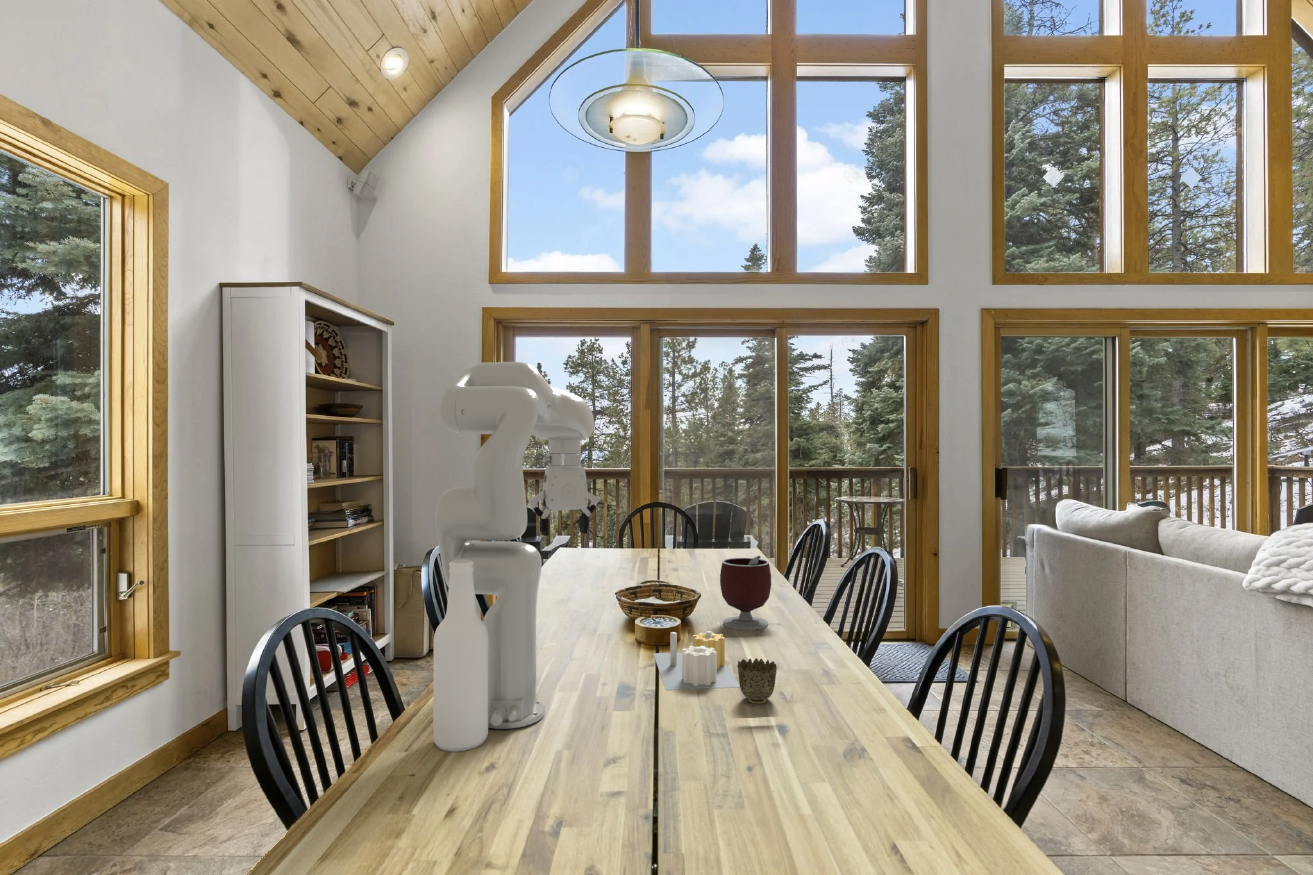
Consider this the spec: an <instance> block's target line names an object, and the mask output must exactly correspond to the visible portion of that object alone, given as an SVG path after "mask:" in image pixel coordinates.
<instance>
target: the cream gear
mask: <svg viewBox="0 0 1313 875" xmlns="http://www.w3.org/2000/svg"><path fill="white" fill-rule="evenodd" d="M681 652H682V679H684V683H692V684H693V685H694V686H698V685H702V684H705V685H711V682H716V681H717V651H715V649H714V648H706V647H705V646H700V647H693V645H690V646H688V648H682V650H681Z"/></svg>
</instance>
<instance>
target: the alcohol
mask: <svg viewBox="0 0 1313 875" xmlns="http://www.w3.org/2000/svg"><path fill="white" fill-rule="evenodd" d="M473 564H474V562H473V561H472V560H454V561H451V562H450V563H449V565H450V569H449V573H450V578H449V587H448V593H447V605H446V612H445V616H444V618H443V620H442V621H441V622H440V623H439V625H438V626H437V628H436V630H435V633H434V637H433V699H432V700H433V703H432V704H433V714H432V715H433V718H432V721H433V735H432V736H433V738H432V740H433V742H434V743H435V745H436V747H437V748H438V749H440V750H442V751H445V752H456V753H457V752H465V751H469V750H473V749H475V748H479V747H481V745H482V744H483V743H484V742H485V741H486V739H487V738H488V735H489V728H488V632H487V628H486V626H485V624H484V623H483V621H484V620H482V619H481V618H480V617H479V615H478V613H477V609H476V598H475V596H476V594H474V582H473V571H474V568H473Z"/></svg>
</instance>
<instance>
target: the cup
mask: <svg viewBox="0 0 1313 875" xmlns="http://www.w3.org/2000/svg"><path fill="white" fill-rule="evenodd" d="M736 666H737V673H738V674H737V675H738V683H739V685H740V687H739V688H740V690H741V693H742V694H743V696H744V697H745V698H747V701H748V702H750V703H752V704H763V703H766V702H767V699H769V698H770V697H771V696H772V695H773V693H774V690H775V686H776V679H777V668H778V667H777V663H775V661H774V660H772V661H771V662H770V661H769V659H767V660H766V661H764V660H763V659H762V658H760V659H758V658H757V657H756V658H754V660H753V661H752V659H751V658H749V659H748V660H746V659H745V658H742V659H741V661H740V660H738V661H737V665H736Z"/></svg>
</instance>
